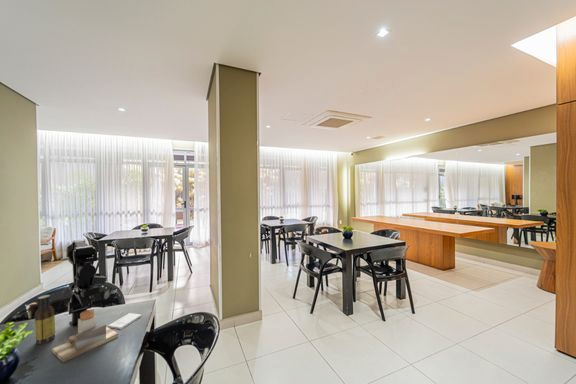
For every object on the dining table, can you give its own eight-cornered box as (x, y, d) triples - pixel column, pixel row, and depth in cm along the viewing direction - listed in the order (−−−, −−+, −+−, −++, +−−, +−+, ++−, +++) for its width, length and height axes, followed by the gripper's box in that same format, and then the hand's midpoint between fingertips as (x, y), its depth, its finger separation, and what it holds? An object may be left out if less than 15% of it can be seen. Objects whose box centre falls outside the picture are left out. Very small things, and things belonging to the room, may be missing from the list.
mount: (52, 352, 98) (52, 333, 98) (106, 329, 114) (106, 313, 114) (62, 362, 91) (62, 343, 92) (118, 336, 108) (118, 320, 108)
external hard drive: (141, 317, 126) (120, 330, 114) (129, 315, 128) (107, 328, 116) (141, 314, 126) (120, 327, 114) (129, 312, 128) (107, 325, 116)
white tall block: (77, 342, 102) (77, 313, 102) (91, 336, 106) (92, 308, 106) (82, 345, 99) (82, 316, 99) (96, 339, 104) (96, 311, 104)
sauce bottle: (57, 334, 110) (57, 292, 110) (51, 342, 104) (51, 297, 104) (38, 338, 107) (38, 295, 107) (31, 346, 101) (31, 300, 101)
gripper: (113, 271, 113) (113, 303, 112) (96, 265, 122) (96, 295, 122) (84, 278, 103) (84, 314, 103) (68, 271, 113) (68, 304, 112)
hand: (84, 306), depth 110 cm, fingers closed
